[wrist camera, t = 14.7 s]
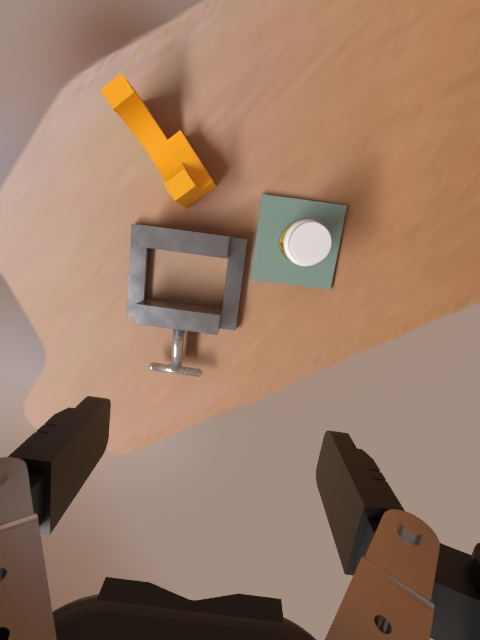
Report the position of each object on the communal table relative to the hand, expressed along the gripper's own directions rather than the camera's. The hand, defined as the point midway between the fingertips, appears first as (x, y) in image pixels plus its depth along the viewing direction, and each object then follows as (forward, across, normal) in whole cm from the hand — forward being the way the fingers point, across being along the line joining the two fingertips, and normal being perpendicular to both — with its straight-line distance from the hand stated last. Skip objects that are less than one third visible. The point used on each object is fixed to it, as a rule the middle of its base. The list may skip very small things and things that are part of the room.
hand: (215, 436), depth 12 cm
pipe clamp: (+31, +10, -16) cm, 36 cm away
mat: (+30, -6, -8) cm, 32 cm away
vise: (+30, +6, -2) cm, 31 cm away
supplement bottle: (+29, -7, -8) cm, 31 cm away
